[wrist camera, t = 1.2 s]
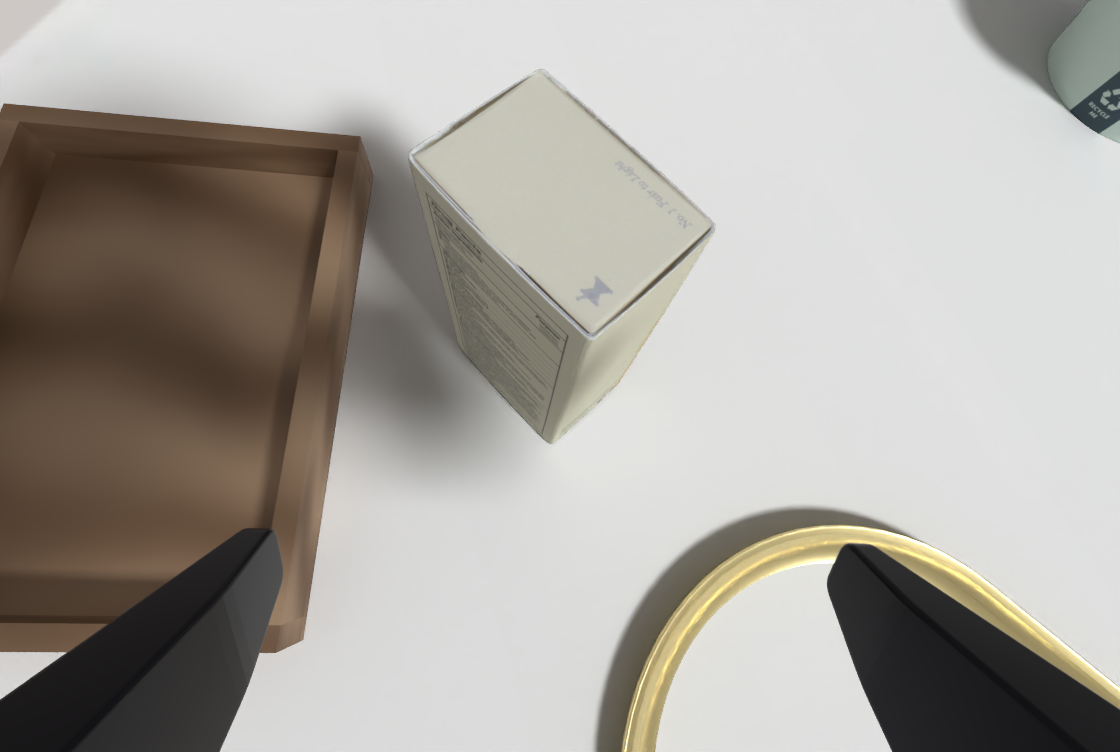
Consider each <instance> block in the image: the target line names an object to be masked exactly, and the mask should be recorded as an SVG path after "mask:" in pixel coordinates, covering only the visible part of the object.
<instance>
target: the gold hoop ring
mask: <svg viewBox="0 0 1120 752" xmlns="http://www.w3.org/2000/svg"><path fill="white" fill-rule="evenodd" d="M846 543H867V544H871V545H873V546H875V547H877V548H878V549H880V550H881V551H883V552H884V553H886V554H887V555H889V556H890V557H892V558H893V559H895V560H896V561H898V562H899V563H901V564H902V565H904V566H905V567H907V568H908V569H910V570H911V571H913V572H914V573H916V574H917V575H919V576H920V577H922V578H923V579H925V580H926V581H928V582H929V583H931V584H932V585H934V586H935V587H937V588H938V589H940V590H941V591H943V592H944V593H946V594H947V595H949V596H950V597H952V598H953V599H955V600H956V601H958V602H959V603H961V604H962V605H964V606H965V607H967V608H968V609H970V610H971V611H973V612H974V613H976V614H977V615H979V616H980V617H982V618H983V619H985V620H986V621H988V622H989V623H991V624H992V625H994V626H995V627H997V628H998V629H1000V630H1001V631H1003V632H1004V633H1006V634H1008V635H1009V636H1011V637H1012V638H1014V639H1015V640H1017V641H1018V642H1020V643H1021V644H1023V645H1024V646H1026V647H1027V648H1029V649H1030V650H1032V651H1033V652H1035V653H1036V654H1038V655H1039V656H1041V657H1042V658H1044V659H1045V660H1047V661H1048V662H1050V663H1051V664H1053V665H1054V666H1056V667H1057V668H1059V669H1060V670H1062V671H1063V672H1065V673H1066V674H1068V675H1069V676H1071V677H1072V678H1074V679H1075V680H1077V681H1078V682H1080V683H1081V684H1083V685H1084V686H1086V687H1087V688H1089V689H1090V690H1092V691H1093V692H1095V693H1096V694H1098V695H1099V696H1101V697H1102V698H1104V699H1105V700H1107V701H1108V702H1110V703H1111V704H1113V705H1114V706H1116V707H1117V708H1119V709H1120V688H1119V687H1118V686H1117V685H1115V684H1114V683H1113V682H1112V681H1110V680H1109V679H1108V678H1107V677H1105V676H1104V675H1103V674H1102V673H1100V672H1099V671H1098V670H1097V669H1095V668H1094V667H1093V666H1092V665H1091V664H1089V663H1088V662H1087V661H1086V660H1084V659H1083V658H1082V657H1081V656H1079V655H1078V654H1077V653H1076V652H1074V651H1073V650H1072V649H1071V648H1070V647H1068V646H1067V645H1066V644H1065V643H1063V642H1062V641H1061V640H1060V639H1058V638H1057V637H1056V636H1055V635H1053V634H1052V633H1051V632H1050V631H1049V630H1047V629H1046V628H1045V627H1044V626H1042V625H1041V624H1040V623H1039V622H1037V621H1036V620H1035V619H1034V618H1032V617H1031V616H1030V615H1029V614H1027V613H1026V612H1025V611H1024V610H1023V609H1021V608H1020V607H1019V606H1018V605H1016V604H1015V603H1014V602H1013V601H1011V600H1010V599H1009V598H1008V597H1006V596H1005V595H1004V594H1003V593H1002V592H1000V591H999V590H998V589H997V588H995V587H994V586H993V585H992V584H990V583H989V582H988V581H987V580H985V579H984V578H983V577H981V576H980V575H978V574H977V573H976V572H974V571H973V570H971V569H970V568H969V567H967V566H966V565H964V564H963V563H961V562H959V561H957V560H956V559H954V558H952V557H951V556H949V555H947V554H946V553H944V552H942V551H940V550H937V549H935V548H933V547H931V546H929V545H927V544H925V543H923V542H920V541H917V540H915V539H912V538H909V537H907V536H904V535H900V534H897V533H893V532H889V531H886V530H882V529H876V528H870V527H864V526H854V525H817V526H811V527H804V528H798V529H794V530H790V531H786V532H783V533H779V534H776V535H773V536H770V537H768V538H765V539H763V540H760V541H758V542H756V543H754V544H752V545H750V546H748V547H746V548H744V549H742V550H740V551H739V552H737V553H735V554H734V555H732V556H731V557H730V558H728V559H727V560H725V561H724V562H722V563H721V564H719V565H718V566H717V567H716V568H715V569H713V570H712V571H711V572H710V573H709V574H707V575H706V576H705V577H704V578H703V579H702V580H701V581H700V582H699V583H698V584H697V585H696V586H695V587H694V588H693V589H692V590H691V591H690V592H689V593H688V594H687V595H686V597H685V598H684V599H683V600H682V602H681V603H680V604H679V606H678V607H677V608H676V609H675V611H674V612H673V613H672V615H671V616H670V618H669V619H668V621H667V623H666V624H665V626H664V627H663V629H662V630H661V632H660V634H659V635H658V637H657V639H656V641H655V643H654V645H653V647H652V649H651V651H650V653H649V655H648V657H647V659H646V661H645V664H644V666H643V669H642V671H641V674H640V677H639V679H638V682H637V684H636V688H635V691H634V694H633V698H632V701H631V705H630V708H629V711H628V716H627V721H626V726H625V731H624V736H623V741H622V750H621V752H655V749H656V740H657V734H658V729H659V724H660V718H661V714H662V711H663V707H664V704H665V700H666V696H667V694H668V691H669V688H670V686H671V683H672V680H673V678H674V675H675V673H676V671H677V669H678V667H679V665H680V662H681V660H682V658H683V656H684V655H685V653H686V651H687V650H688V648H689V646H690V645H691V643H692V641H693V640H694V638H695V637H696V636H697V634H698V633H699V632H700V630H701V629H702V628H703V626H704V625H705V624H706V622H707V621H708V620H709V619H710V618H711V617H712V616H713V615H714V614H715V613H716V611H717V610H718V609H719V608H720V607H722V606H723V605H724V604H725V603H726V602H727V601H728V600H730V599H731V598H732V597H733V596H734V595H736V594H737V593H739V592H740V591H742V590H743V589H744V588H746V587H747V586H749V585H751V584H753V583H755V582H756V581H758V580H760V579H762V578H764V577H766V576H769V575H771V574H774V573H776V572H779V571H782V570H785V569H789V568H793V567H796V566H802V565H808V564H818V563H834V562H835V560H836V557H837V555H838V553H839V551H840V549H841V547H842V546H843V545H844V544H846ZM643 717H644V718H643ZM642 722H643V723H642ZM641 727H642V728H641ZM640 732H641V733H640ZM638 744H639V745H638Z"/></svg>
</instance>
